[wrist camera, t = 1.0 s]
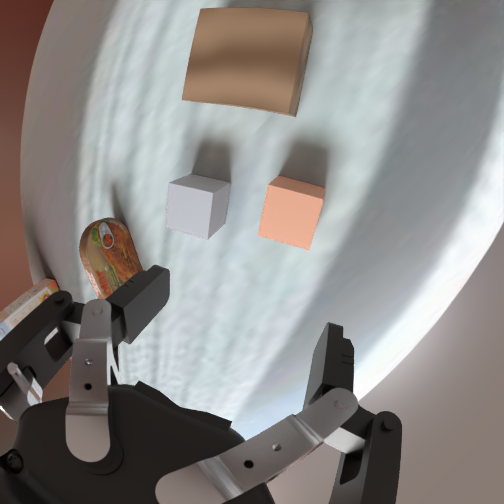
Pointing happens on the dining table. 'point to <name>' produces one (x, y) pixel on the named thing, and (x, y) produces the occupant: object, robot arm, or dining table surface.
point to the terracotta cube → (291, 211)
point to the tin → (108, 255)
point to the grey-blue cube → (197, 205)
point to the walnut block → (249, 58)
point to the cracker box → (27, 306)
